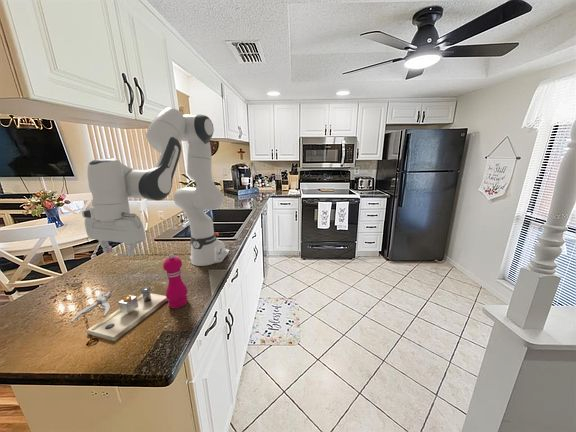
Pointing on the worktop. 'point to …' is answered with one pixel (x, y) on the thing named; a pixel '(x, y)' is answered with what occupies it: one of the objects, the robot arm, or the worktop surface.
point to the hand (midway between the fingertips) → (119, 253)
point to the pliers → (99, 300)
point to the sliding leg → (128, 304)
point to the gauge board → (126, 318)
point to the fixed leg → (146, 293)
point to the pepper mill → (175, 282)
